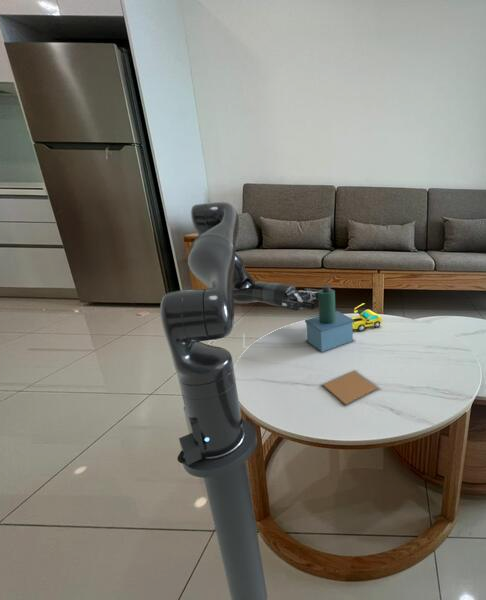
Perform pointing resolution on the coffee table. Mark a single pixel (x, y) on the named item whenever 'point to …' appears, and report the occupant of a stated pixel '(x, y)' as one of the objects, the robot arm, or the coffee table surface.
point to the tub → (329, 332)
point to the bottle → (326, 305)
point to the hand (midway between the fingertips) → (321, 301)
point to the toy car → (366, 319)
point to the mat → (349, 387)
